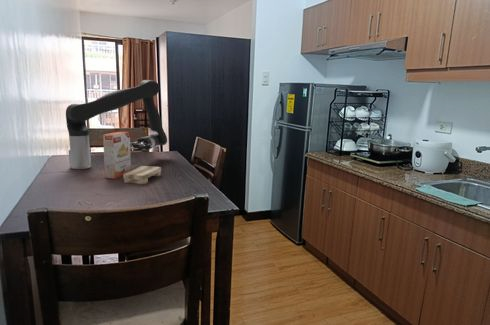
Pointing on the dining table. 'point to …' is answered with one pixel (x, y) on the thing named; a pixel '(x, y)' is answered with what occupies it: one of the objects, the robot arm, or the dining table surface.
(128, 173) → the birch stand
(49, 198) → the dining table surface
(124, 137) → the cracker box
